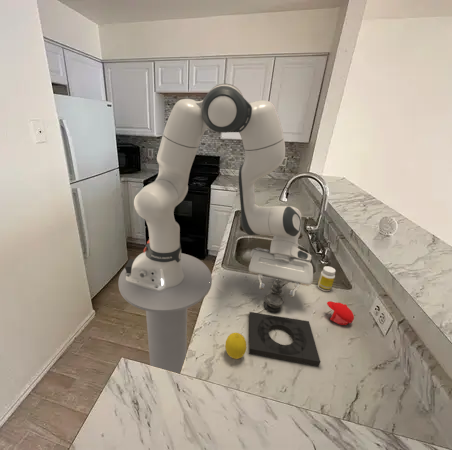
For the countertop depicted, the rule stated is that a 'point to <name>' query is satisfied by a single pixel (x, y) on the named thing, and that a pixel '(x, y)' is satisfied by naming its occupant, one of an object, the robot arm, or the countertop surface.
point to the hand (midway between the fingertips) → (276, 292)
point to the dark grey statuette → (274, 297)
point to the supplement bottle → (326, 278)
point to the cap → (341, 313)
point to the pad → (266, 346)
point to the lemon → (235, 345)
